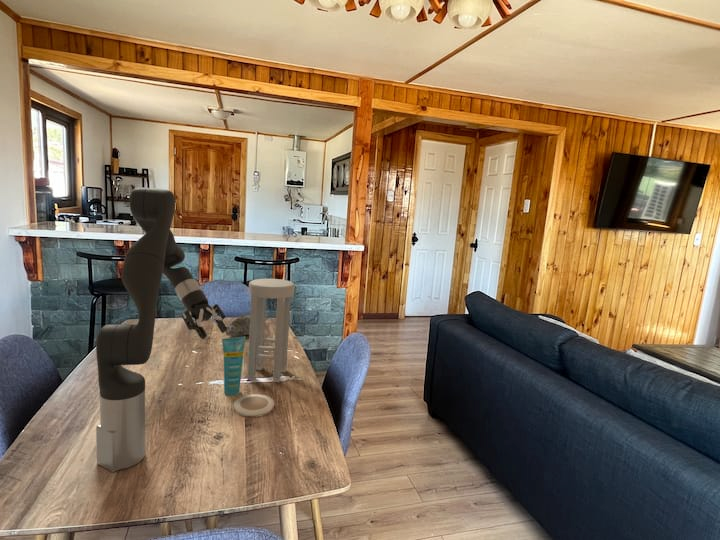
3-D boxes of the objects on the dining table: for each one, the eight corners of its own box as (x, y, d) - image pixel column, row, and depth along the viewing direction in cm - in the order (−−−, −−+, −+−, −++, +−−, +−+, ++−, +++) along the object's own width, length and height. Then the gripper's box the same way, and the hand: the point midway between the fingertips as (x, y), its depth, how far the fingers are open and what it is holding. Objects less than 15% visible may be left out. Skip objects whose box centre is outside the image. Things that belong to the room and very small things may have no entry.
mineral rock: (224, 338, 186) (225, 317, 185) (225, 331, 196) (226, 311, 195) (254, 338, 190) (255, 317, 188) (253, 331, 200) (254, 311, 198)
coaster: (255, 420, 120) (256, 416, 120) (225, 408, 125) (225, 404, 125) (281, 404, 131) (281, 400, 131) (252, 394, 136) (252, 390, 136)
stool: (283, 386, 144) (288, 288, 138) (239, 381, 145) (243, 284, 139) (292, 368, 159) (298, 280, 154) (253, 364, 160) (257, 276, 154)
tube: (222, 397, 132) (224, 340, 129) (218, 391, 136) (220, 336, 133) (245, 393, 136) (247, 338, 133) (240, 387, 140) (243, 333, 137)
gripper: (179, 292, 132) (204, 333, 129) (213, 286, 145) (236, 323, 141) (167, 305, 135) (192, 346, 132) (202, 298, 148) (224, 335, 145)
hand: (215, 334), depth 137 cm, fingers open, 8 cm apart
